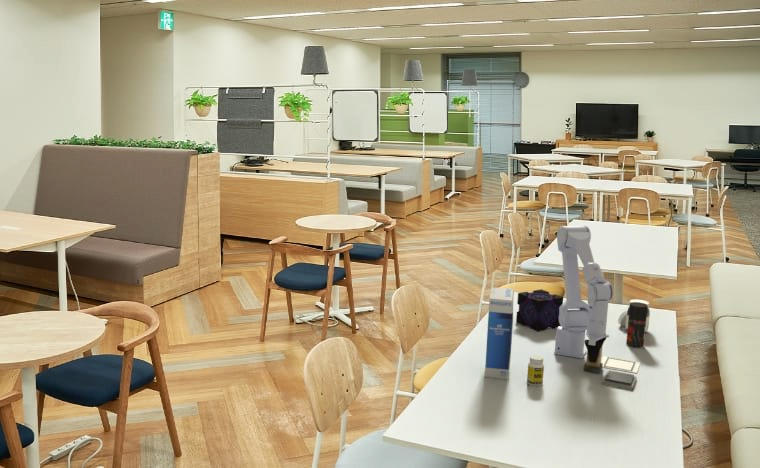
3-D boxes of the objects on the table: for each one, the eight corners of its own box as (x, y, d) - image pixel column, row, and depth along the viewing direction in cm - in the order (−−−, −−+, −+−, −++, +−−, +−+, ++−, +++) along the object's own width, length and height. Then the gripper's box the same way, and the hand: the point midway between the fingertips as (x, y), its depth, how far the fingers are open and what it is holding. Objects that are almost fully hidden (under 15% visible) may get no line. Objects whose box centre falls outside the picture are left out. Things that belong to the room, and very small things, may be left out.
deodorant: (644, 348, 254) (648, 307, 251) (627, 346, 255) (631, 306, 252) (642, 342, 260) (646, 302, 257) (625, 341, 261) (628, 301, 258)
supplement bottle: (533, 387, 218) (535, 361, 217) (523, 381, 222) (525, 356, 221) (545, 384, 220) (547, 358, 219) (535, 379, 224) (537, 353, 223)
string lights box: (487, 362, 238) (491, 286, 232) (510, 364, 236) (515, 288, 231) (484, 377, 225) (488, 298, 220) (509, 380, 223) (514, 300, 218)
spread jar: (643, 337, 266) (646, 307, 263) (612, 331, 272) (615, 301, 269) (651, 328, 276) (654, 299, 273) (621, 323, 282) (624, 294, 279)
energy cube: (561, 327, 275) (563, 297, 273) (537, 331, 269) (539, 301, 267) (539, 318, 285) (541, 289, 283) (516, 322, 279) (518, 293, 277)
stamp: (583, 370, 232) (585, 347, 230) (586, 365, 236) (588, 342, 235) (599, 373, 230) (601, 350, 228) (602, 368, 234) (604, 345, 233)
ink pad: (601, 384, 222) (602, 378, 221) (606, 374, 230) (607, 369, 229) (632, 389, 218) (632, 384, 218) (636, 379, 226) (636, 374, 226)
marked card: (598, 366, 236) (598, 365, 236) (603, 356, 245) (603, 355, 245) (636, 373, 231) (636, 372, 231) (640, 363, 240) (640, 362, 240)
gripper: (606, 328, 222) (602, 369, 224) (613, 315, 234) (610, 354, 237) (583, 324, 225) (579, 365, 227) (591, 312, 237) (588, 351, 240)
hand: (593, 359), depth 232 cm, fingers closed on stamp, 4 cm apart
